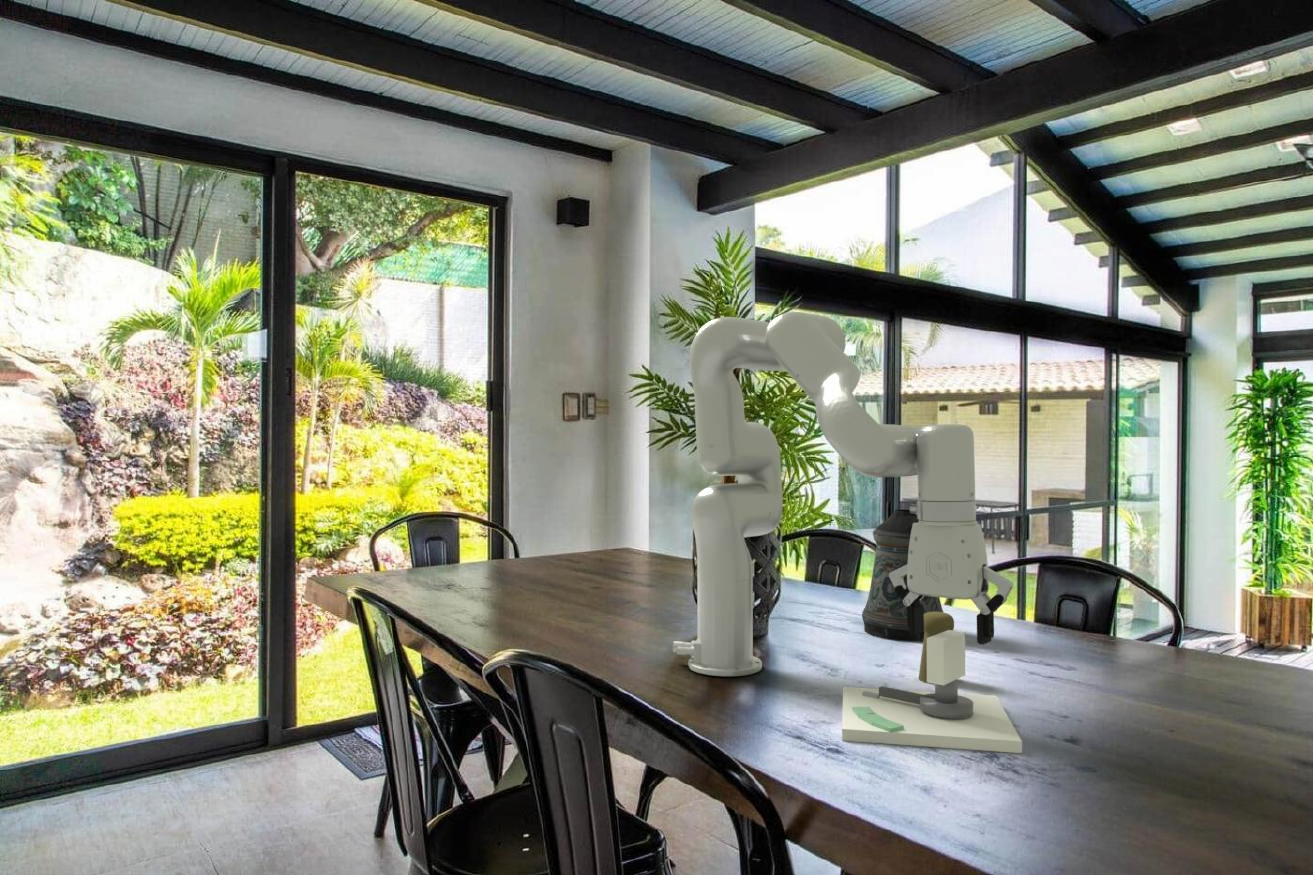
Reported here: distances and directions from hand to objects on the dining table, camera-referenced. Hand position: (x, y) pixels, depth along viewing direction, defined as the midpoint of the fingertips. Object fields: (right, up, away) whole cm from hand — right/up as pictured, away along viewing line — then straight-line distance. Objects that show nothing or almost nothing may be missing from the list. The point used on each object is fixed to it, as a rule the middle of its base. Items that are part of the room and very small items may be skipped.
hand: (949, 638), depth 120 cm
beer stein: (+11, -12, +57) cm, 60 cm away
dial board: (-3, -12, +1) cm, 12 cm away
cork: (+6, -12, +23) cm, 26 cm away
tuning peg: (-3, -10, +3) cm, 11 cm away
